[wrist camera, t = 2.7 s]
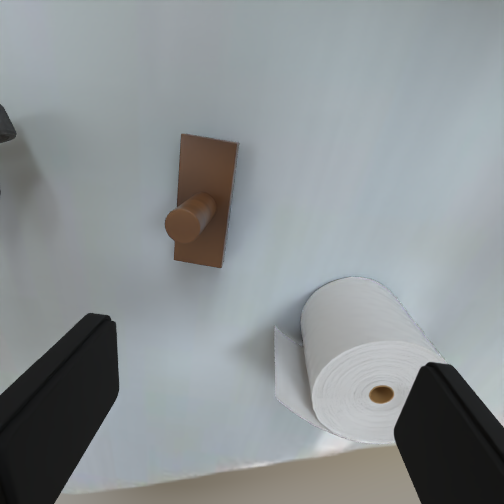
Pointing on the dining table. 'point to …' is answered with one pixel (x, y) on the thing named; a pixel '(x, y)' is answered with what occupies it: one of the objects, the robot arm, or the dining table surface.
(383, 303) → the toilet tissue
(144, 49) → the dining table surface
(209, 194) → the brush
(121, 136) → the dining table surface
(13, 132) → the tankard
